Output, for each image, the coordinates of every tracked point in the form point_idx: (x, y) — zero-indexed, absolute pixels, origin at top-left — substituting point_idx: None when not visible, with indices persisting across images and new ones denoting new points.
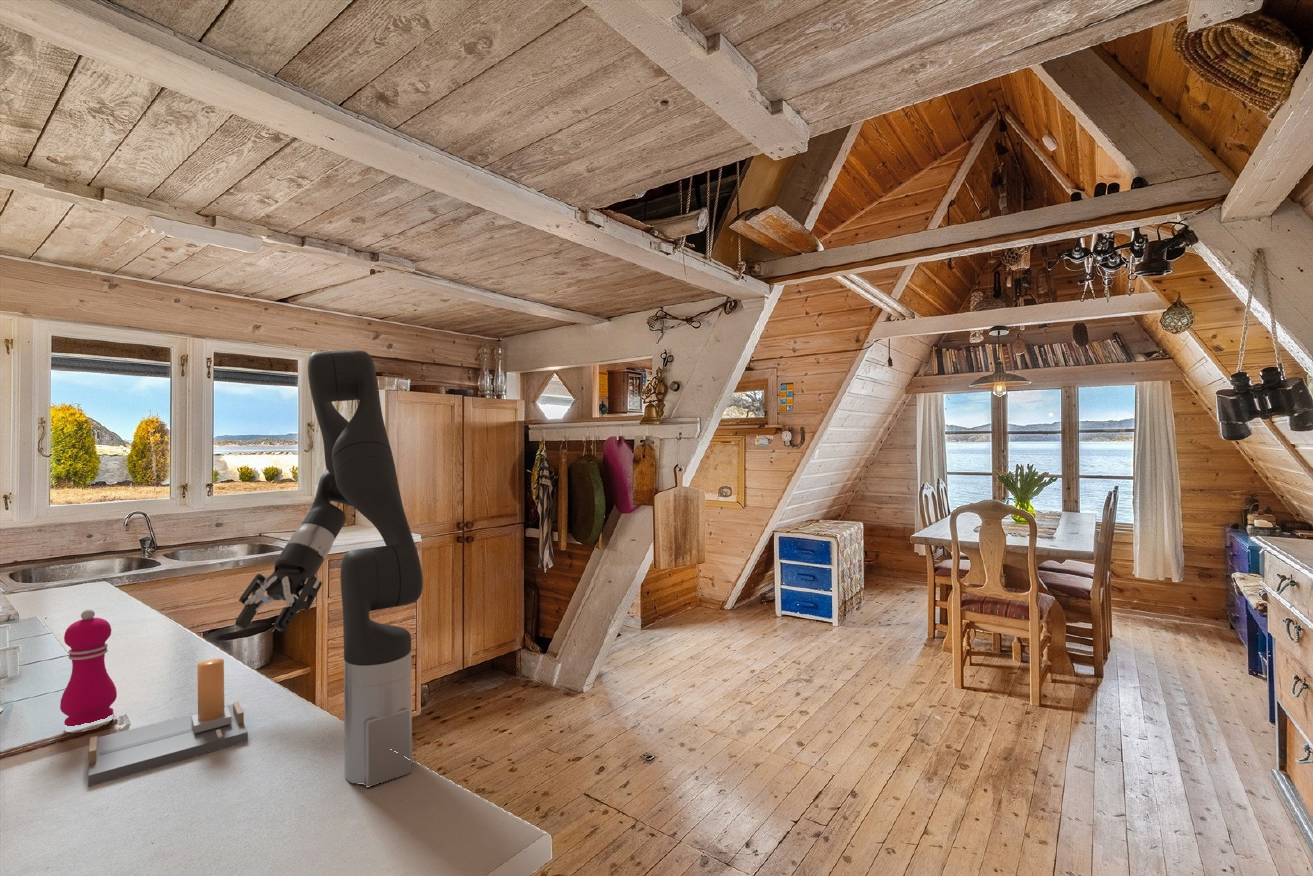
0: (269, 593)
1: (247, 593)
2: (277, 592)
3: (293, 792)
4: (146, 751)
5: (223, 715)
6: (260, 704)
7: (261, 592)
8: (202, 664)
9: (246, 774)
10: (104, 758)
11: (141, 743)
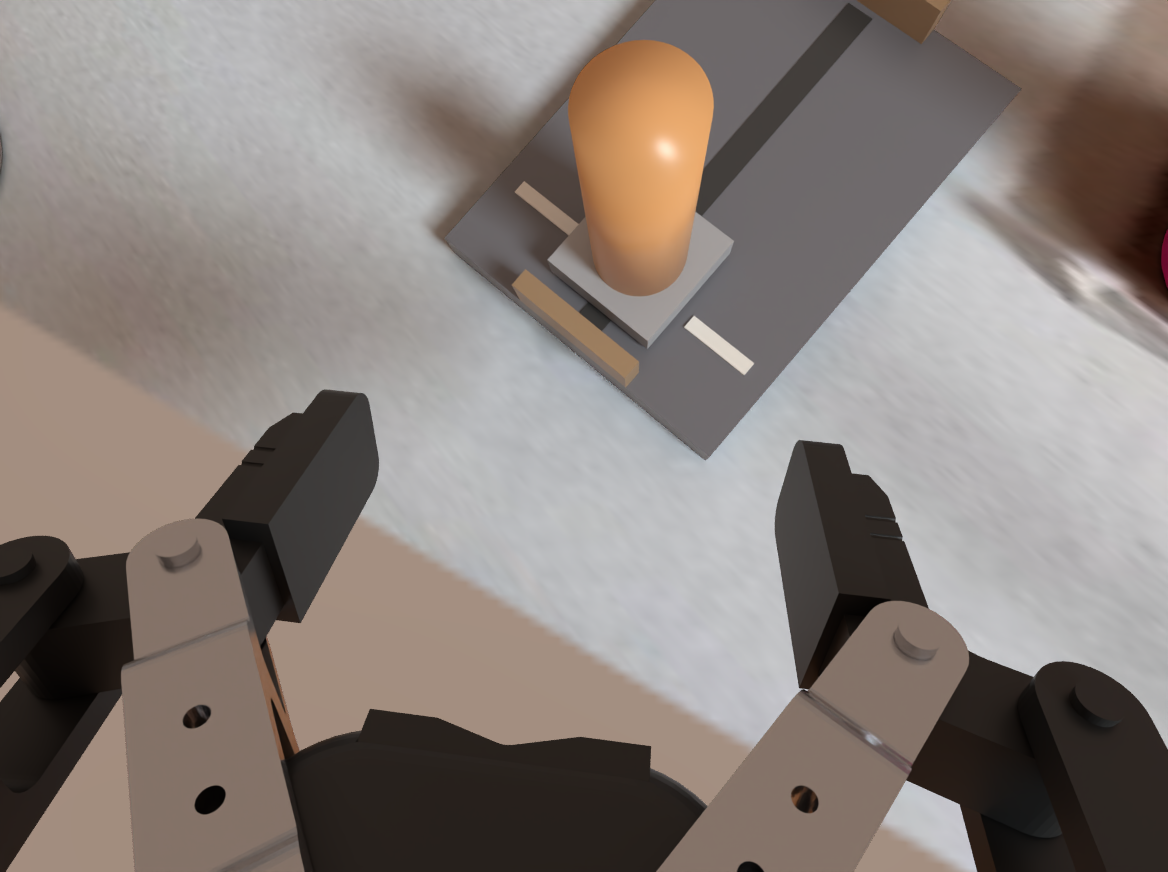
0: (625, 770)
1: (1094, 793)
2: (457, 767)
3: (98, 23)
4: (700, 53)
5: (589, 261)
6: (654, 547)
7: (759, 742)
8: (664, 68)
9: (299, 74)
10: None
11: (777, 94)
